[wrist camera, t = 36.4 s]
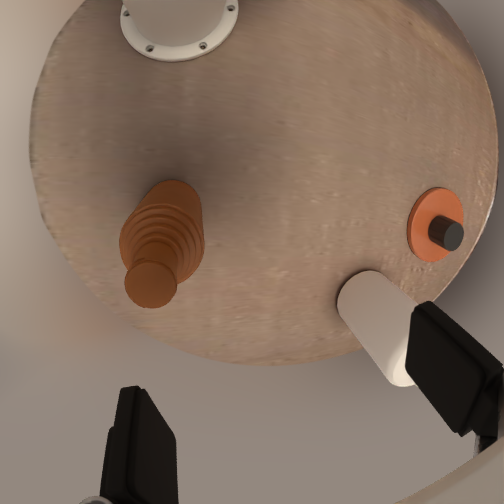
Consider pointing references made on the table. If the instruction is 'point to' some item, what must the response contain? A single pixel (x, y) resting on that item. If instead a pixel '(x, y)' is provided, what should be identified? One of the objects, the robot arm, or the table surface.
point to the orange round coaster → (421, 217)
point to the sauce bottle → (162, 243)
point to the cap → (445, 232)
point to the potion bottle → (379, 321)
